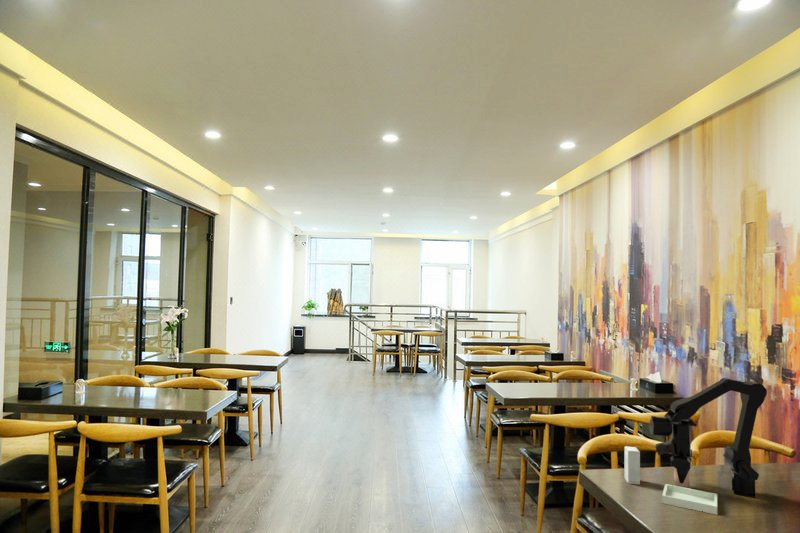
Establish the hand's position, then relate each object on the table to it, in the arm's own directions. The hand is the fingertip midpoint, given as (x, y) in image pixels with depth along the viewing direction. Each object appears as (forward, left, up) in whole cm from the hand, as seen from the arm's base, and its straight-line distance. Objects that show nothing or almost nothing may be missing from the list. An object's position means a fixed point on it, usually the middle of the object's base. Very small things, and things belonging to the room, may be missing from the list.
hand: (681, 480), depth 182 cm
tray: (-3, +14, -2) cm, 14 cm away
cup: (0, 0, -2) cm, 2 cm away
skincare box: (+16, +4, -3) cm, 17 cm away
